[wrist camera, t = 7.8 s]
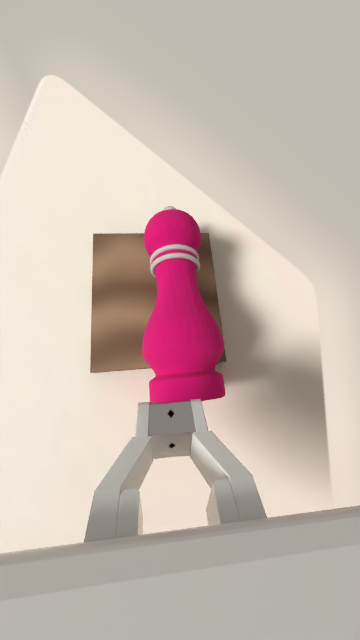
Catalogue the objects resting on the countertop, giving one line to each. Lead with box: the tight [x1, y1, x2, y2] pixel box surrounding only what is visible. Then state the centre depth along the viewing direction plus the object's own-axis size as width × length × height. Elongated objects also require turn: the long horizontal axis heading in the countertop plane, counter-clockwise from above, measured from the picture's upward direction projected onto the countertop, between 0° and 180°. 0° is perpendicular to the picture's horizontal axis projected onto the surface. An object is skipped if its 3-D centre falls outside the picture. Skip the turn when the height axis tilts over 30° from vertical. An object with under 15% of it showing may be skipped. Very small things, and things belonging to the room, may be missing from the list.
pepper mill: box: [142, 206, 225, 402], centre depth 20 cm, size 7×7×20 cm
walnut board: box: [90, 233, 226, 373], centre depth 24 cm, size 16×14×2 cm
